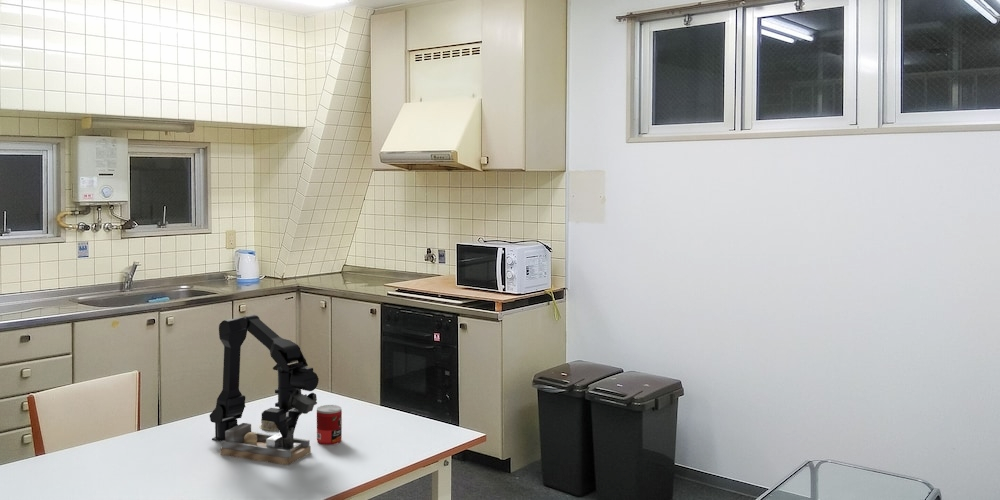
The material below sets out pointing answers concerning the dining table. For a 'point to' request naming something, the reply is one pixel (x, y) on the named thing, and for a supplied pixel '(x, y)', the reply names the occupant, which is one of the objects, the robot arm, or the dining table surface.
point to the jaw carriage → (283, 441)
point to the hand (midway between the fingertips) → (288, 436)
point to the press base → (260, 447)
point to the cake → (268, 426)
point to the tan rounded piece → (250, 438)
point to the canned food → (329, 424)
